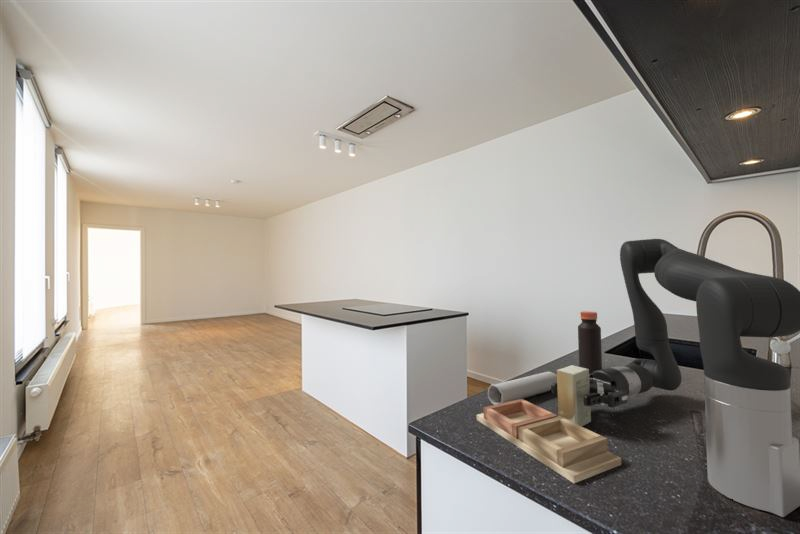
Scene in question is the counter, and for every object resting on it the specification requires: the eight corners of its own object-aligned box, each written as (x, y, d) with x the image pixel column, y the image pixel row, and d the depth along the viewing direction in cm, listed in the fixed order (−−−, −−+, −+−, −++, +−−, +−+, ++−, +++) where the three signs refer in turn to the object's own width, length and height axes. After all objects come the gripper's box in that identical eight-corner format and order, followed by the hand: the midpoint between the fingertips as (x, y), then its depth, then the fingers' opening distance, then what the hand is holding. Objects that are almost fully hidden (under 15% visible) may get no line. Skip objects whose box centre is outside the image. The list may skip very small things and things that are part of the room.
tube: (545, 381, 101) (485, 397, 89) (550, 366, 100) (490, 380, 87) (560, 392, 97) (499, 410, 84) (566, 377, 95) (505, 393, 83)
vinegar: (583, 366, 117) (581, 310, 118) (605, 370, 112) (603, 312, 113) (576, 371, 113) (574, 312, 113) (598, 375, 108) (596, 314, 108)
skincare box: (573, 415, 79) (571, 364, 79) (591, 422, 75) (590, 368, 75) (557, 422, 76) (555, 368, 76) (575, 430, 72) (574, 373, 72)
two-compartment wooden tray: (621, 464, 59) (620, 443, 59) (574, 483, 54) (573, 460, 54) (516, 410, 83) (515, 395, 83) (476, 419, 78) (476, 404, 78)
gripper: (587, 361, 88) (542, 369, 81) (645, 376, 75) (597, 387, 68) (588, 389, 88) (543, 400, 81) (646, 409, 75) (598, 424, 68)
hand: (567, 394), depth 75 cm, fingers open, 8 cm apart
